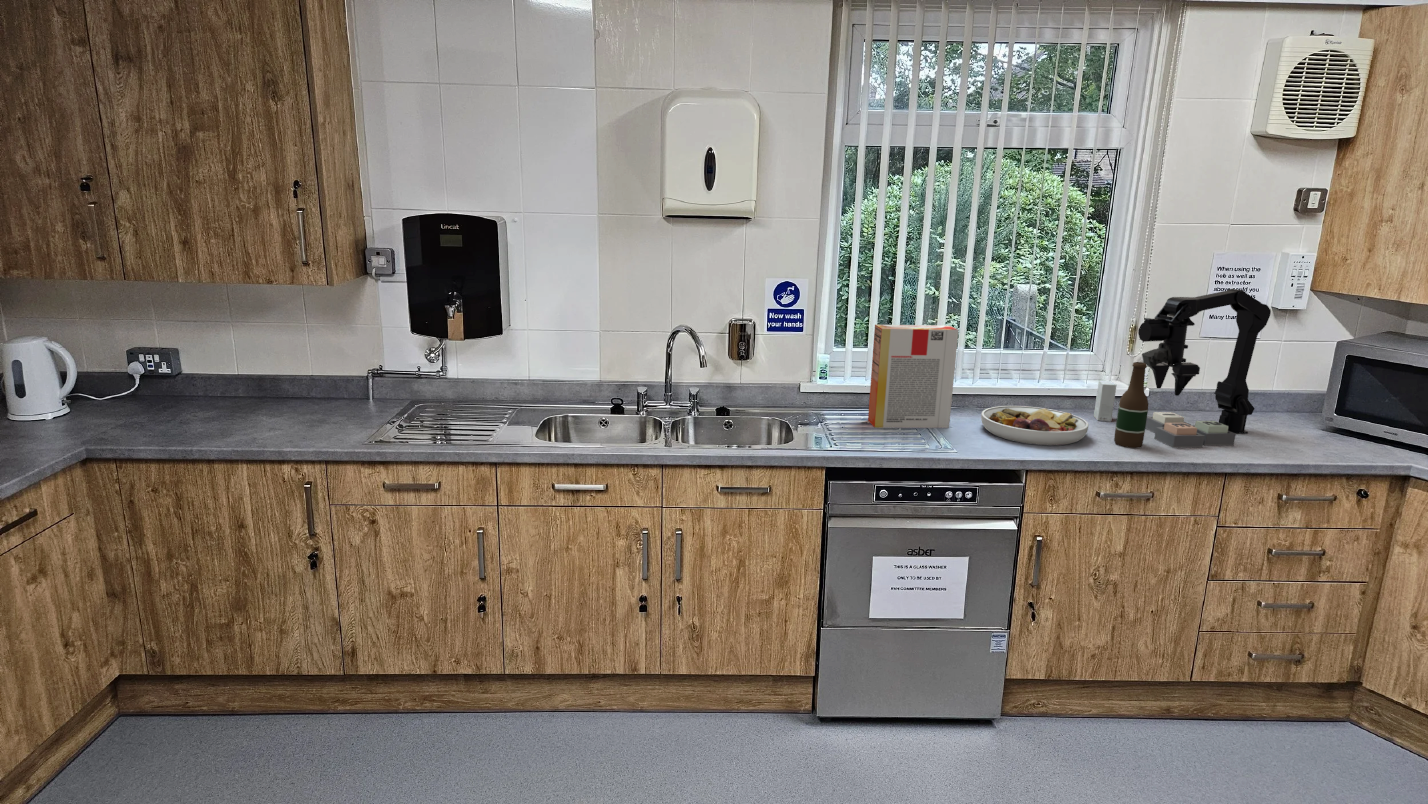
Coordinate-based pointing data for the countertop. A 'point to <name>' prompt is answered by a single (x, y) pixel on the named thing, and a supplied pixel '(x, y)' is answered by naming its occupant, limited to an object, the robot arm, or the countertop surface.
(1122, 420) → the beer bottle
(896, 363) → the pasta box
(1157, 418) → the tile
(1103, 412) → the skincare box
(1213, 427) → the tile
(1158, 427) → the tile collars
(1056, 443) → the bowl
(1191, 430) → the tile
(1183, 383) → the robot arm
